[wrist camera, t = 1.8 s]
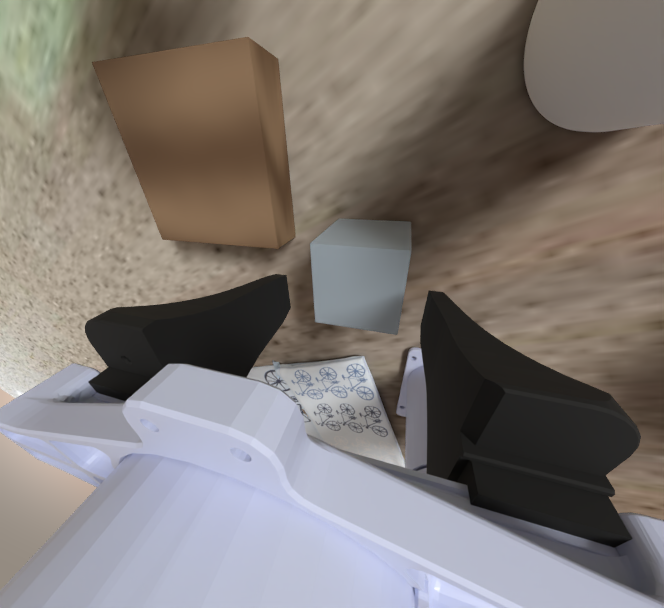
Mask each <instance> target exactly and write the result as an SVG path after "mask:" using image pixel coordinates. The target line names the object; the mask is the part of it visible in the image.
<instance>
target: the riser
mask: <svg viewBox="0 0 664 608" xmlns="http://www.w3.org/2000/svg"><path fill="white" fill-rule="evenodd" d="M92 64H93V66H94V69H95V71H96V74H97V76H98V79H99V81H100V84H101V86H102V89H103V91H104V94H105V96H106V99H107V101H108V104H109V106H110V109H111V111H112V114H113V116H114V119H115V121H116V124H117V126H118V129H119V131H120V134H121V136H122V139H123V141H124V144H125V146H126V149H127V152H128V154H129V157H130V159H131V162H132V164H133V167H134V169H135V172H136V174H137V177H138V179H139V182H140V184H141V187H142V189H143V192H144V194H145V197H146V199H147V202H148V204H149V207H150V209H151V212H152V214H153V217H154V219H155V222H156V224H157V227H158V229H159V232H160V234H161V237H162V239H163V240H176V241H188V242H200V243H213V244H225V245H238V246H250V247H263V248H275V249H278V248H280V247H281V246H283V245H284V244H286V243H287V242H289V241H290V240H291V239H293V238H294V237H296V236H295V226H294V216H293V206H292V195H291V185H290V175H289V165H288V155H287V145H286V134H285V124H284V114H283V104H282V94H281V83H280V73H279V63H278V59H277V58H276V57H275V56H273V55H272V54H271V53H269V52H268V51H267V50H265V49H264V48H263V47H261V46H260V45H259V44H257V43H256V42H254V41H253V40H252V39H250V38H249V37H244V38H238V39H232V40H226V41H219V42H213V43H207V44H201V45H195V46H189V47H182V48H176V49H170V50H164V51H158V52H152V53H145V54H139V55H133V56H127V57H121V58H114V59H108V60H102V61H96V62H92Z"/></svg>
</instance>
